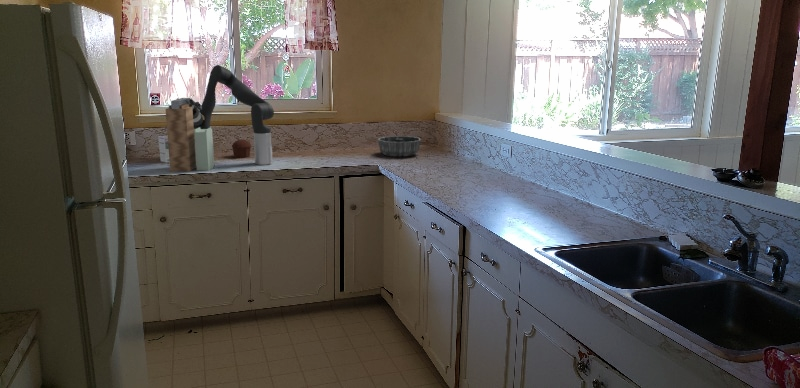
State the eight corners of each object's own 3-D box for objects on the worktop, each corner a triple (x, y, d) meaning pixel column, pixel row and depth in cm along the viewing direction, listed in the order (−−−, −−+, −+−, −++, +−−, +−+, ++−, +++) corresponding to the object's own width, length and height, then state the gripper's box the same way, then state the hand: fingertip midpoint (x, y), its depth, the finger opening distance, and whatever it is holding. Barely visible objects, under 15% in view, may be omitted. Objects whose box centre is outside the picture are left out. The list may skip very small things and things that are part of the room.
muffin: (247, 158, 350) (246, 141, 348) (229, 158, 352) (228, 140, 349) (255, 155, 361) (254, 138, 359) (237, 154, 363) (236, 138, 361)
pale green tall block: (214, 166, 327) (212, 127, 322) (209, 170, 315) (206, 129, 310) (202, 166, 326) (200, 126, 321) (196, 170, 315) (193, 129, 310)
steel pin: (190, 105, 324) (190, 97, 324) (179, 109, 305) (179, 101, 304) (183, 105, 324) (182, 97, 323) (171, 108, 305) (170, 100, 304)
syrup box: (166, 162, 335) (164, 136, 331) (160, 161, 338) (158, 135, 335) (175, 161, 339) (173, 135, 336) (169, 160, 343) (167, 134, 339)
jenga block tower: (196, 166, 324) (192, 103, 317) (190, 171, 313) (185, 106, 305) (177, 166, 324) (172, 103, 316) (170, 171, 312) (165, 105, 304)
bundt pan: (370, 156, 362) (370, 140, 360) (387, 150, 386) (388, 134, 384) (411, 160, 353) (411, 143, 350) (426, 153, 376) (427, 137, 374)
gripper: (179, 106, 335) (170, 93, 319) (206, 107, 336) (198, 93, 320) (178, 119, 333) (169, 106, 317) (205, 119, 334) (197, 106, 318)
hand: (183, 100), depth 319 cm, fingers open, 6 cm apart
